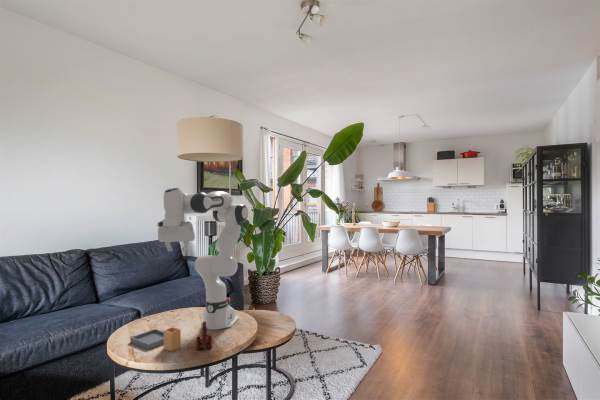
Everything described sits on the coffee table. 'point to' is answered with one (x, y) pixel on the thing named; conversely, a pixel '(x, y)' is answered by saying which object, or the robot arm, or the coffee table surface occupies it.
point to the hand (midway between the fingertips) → (177, 251)
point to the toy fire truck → (204, 339)
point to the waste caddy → (172, 339)
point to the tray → (149, 339)
